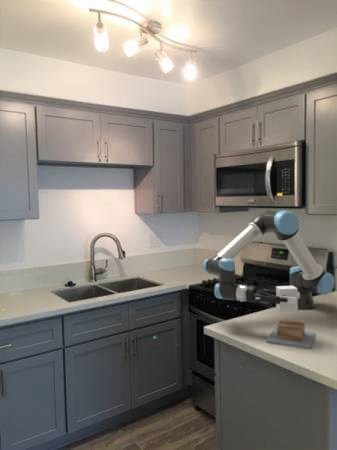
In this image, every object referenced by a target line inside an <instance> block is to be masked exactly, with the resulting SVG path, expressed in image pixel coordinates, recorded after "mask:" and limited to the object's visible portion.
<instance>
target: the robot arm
mask: <svg viewBox="0 0 337 450" xmlns="http://www.w3.org/2000/svg"><path fill="white" fill-rule="evenodd" d="M299 230H300V221H299V217H298V216H297V215H296V214H295V213H294V212H293V211H289V210H284V209H282V210H270V209H269V210H266V211H263V212H261V213H260V214H258V215H256V216H255V217H254V218H252V220H250V221H249V222H248V223H247V227H245V228H244V229H243V230H242V231H241V232H240V233H239V234H238V235H236V237H234V238H233V239H232V240H231V241H230V242H229V243H227V244H226V246H224V247H223V248H222V249H221V250H219V252H217V253H216V254H215V255H214V256H213V257H212V258H206V259H205V260H204V261H203V263H202V268H203V271H204V272H205V273H206V274H210V275H213V276H216V277H218V280H219V281H218V282H217V283H216V284H214V291H213V293H214V296H215V298H217V299H221V300H229V301H238V302H241V303H242V302H247V303H248V302H249V303H256V302H263V303H271V304H277V303H278V304H280V303H290V304H296V297H286V296H280V297H279V296H276V288H274V289H271V288H270V289H268V288H262V289H258V288H257V286H256V285H247V284H236V264H235V260H234V259H235V258H236V257H237V256H238V255H239V254H241V252H243V251H244V250H245V249H246V248H248V246H249V245H250V244H252V243H253V242H254V241H255V240H256V239H257V238H260V237H262V236H263V235H265V234H267V233H270V234H271V233H272V234H274V235H275V236H276V238H277V240H278V241H280V242H283V244H284V245H285V247H286V248H287V250H288V251H289V252H290V254H291V257H293V259H294V261H295V262H296V264H297V266H291V267H290V268H289V274H288V275H289V286H294V287H296V288H297V291H298V310H311V309H314V308H315V300H314V298H313V295H312V293H314V294H315V293H316V294H319V295H324V296H325V295H328V294H330V293H331V292H332V291H333V289H334V287H335V281H336V280H335V277H334V275H333V274H331V273H330V272H326V270H325V269H324V267H323V266H322V265H320V264H318V263H317V261H316V259H315V258H314V257H313V255H312V253H311V251H310V250H309V248H308V247H307V245H306V243H305V242H304V240H303V239H302V236H300V233H299Z"/></svg>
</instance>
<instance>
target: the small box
mask: <svg viewBox="0 0 337 450" xmlns="http://www.w3.org/2000/svg"><path fill="white" fill-rule="evenodd" d="M275 290H276V296H279V297H280V296H286V297H296V304H290V303H280V304H278V303H277V304H276V307H275V308H276V310H277V311H278V312H280V313H297V312H299V309H298V291H297V288H296V287H294V286H290V285H279V286H278V285H276V286H275Z"/></svg>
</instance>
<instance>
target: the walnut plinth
mask: <svg viewBox="0 0 337 450" xmlns="http://www.w3.org/2000/svg"><path fill="white" fill-rule="evenodd" d="M305 323H306V322H305V320H298V319H289V318H288V319H287V318H281V319H280V320H279V321H278V324H277V327H276V328H277V338H278V339H285V340H292V341H299V342H301V341H302V339H303V337H304V334H305V331H306V330H305V326H306V325H305Z"/></svg>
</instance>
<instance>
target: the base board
mask: <svg viewBox="0 0 337 450" xmlns="http://www.w3.org/2000/svg"><path fill="white" fill-rule="evenodd" d="M315 336H316V332H313V331H308V330H307V331H306V330H305V334H304V337H303V339H302V341H301V342H299V341H292V340H285V339H278V338H277V327H274V328H273V329H272V331H271V333H270V334H269V336H268V337H267V339H266V340H265V342H266V343H268V344H274V345H281V346H287V347H295V348H300V349H301V348H302V349H308V350H310V349H311V346H312V344H313V342H314V338H315Z"/></svg>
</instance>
